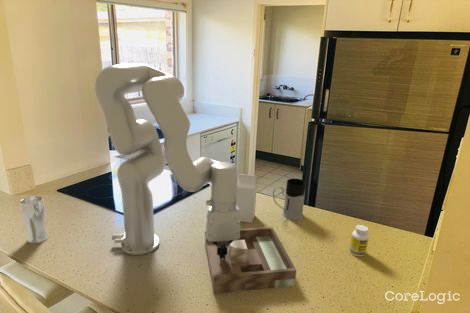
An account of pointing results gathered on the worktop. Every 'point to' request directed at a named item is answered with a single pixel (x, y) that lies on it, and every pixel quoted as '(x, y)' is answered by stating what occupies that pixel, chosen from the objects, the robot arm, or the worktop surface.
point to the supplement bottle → (359, 241)
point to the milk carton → (246, 197)
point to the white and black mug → (293, 199)
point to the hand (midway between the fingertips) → (221, 256)
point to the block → (238, 252)
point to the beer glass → (34, 218)
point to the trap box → (252, 264)
